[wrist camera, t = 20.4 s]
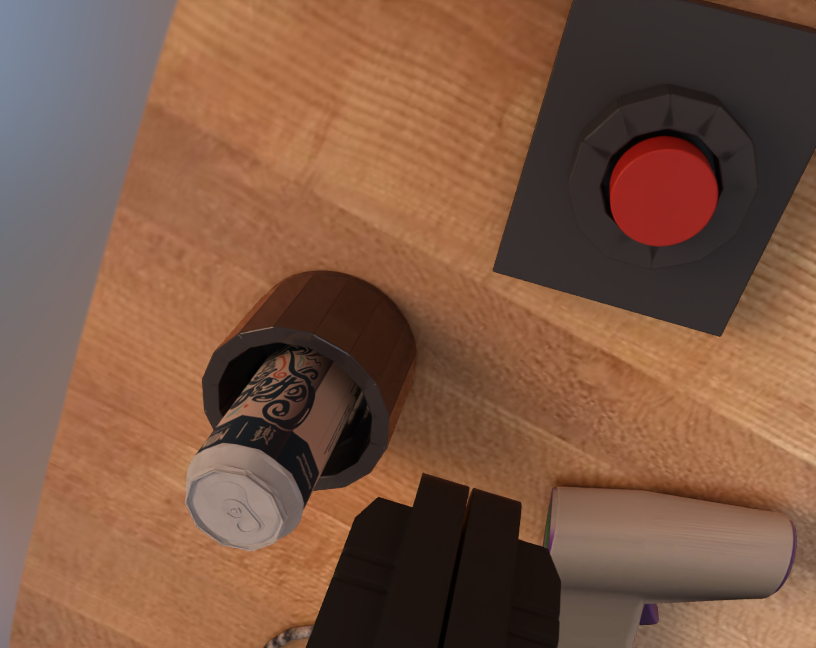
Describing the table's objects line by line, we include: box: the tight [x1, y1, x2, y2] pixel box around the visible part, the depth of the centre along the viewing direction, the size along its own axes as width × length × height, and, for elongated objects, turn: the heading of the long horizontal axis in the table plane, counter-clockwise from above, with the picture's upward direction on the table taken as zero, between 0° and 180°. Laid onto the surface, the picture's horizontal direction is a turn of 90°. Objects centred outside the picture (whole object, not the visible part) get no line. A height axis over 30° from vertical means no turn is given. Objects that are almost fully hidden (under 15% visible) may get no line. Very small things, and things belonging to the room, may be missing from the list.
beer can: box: [185, 343, 362, 551], centre depth 33 cm, size 5×5×12 cm
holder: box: [202, 271, 416, 491], centre depth 36 cm, size 9×9×6 cm
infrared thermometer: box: [543, 486, 797, 648], centre depth 40 cm, size 5×12×15 cm
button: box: [610, 136, 718, 246], centre depth 27 cm, size 4×4×2 cm
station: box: [493, 0, 816, 337], centre depth 29 cm, size 12×10×4 cm
